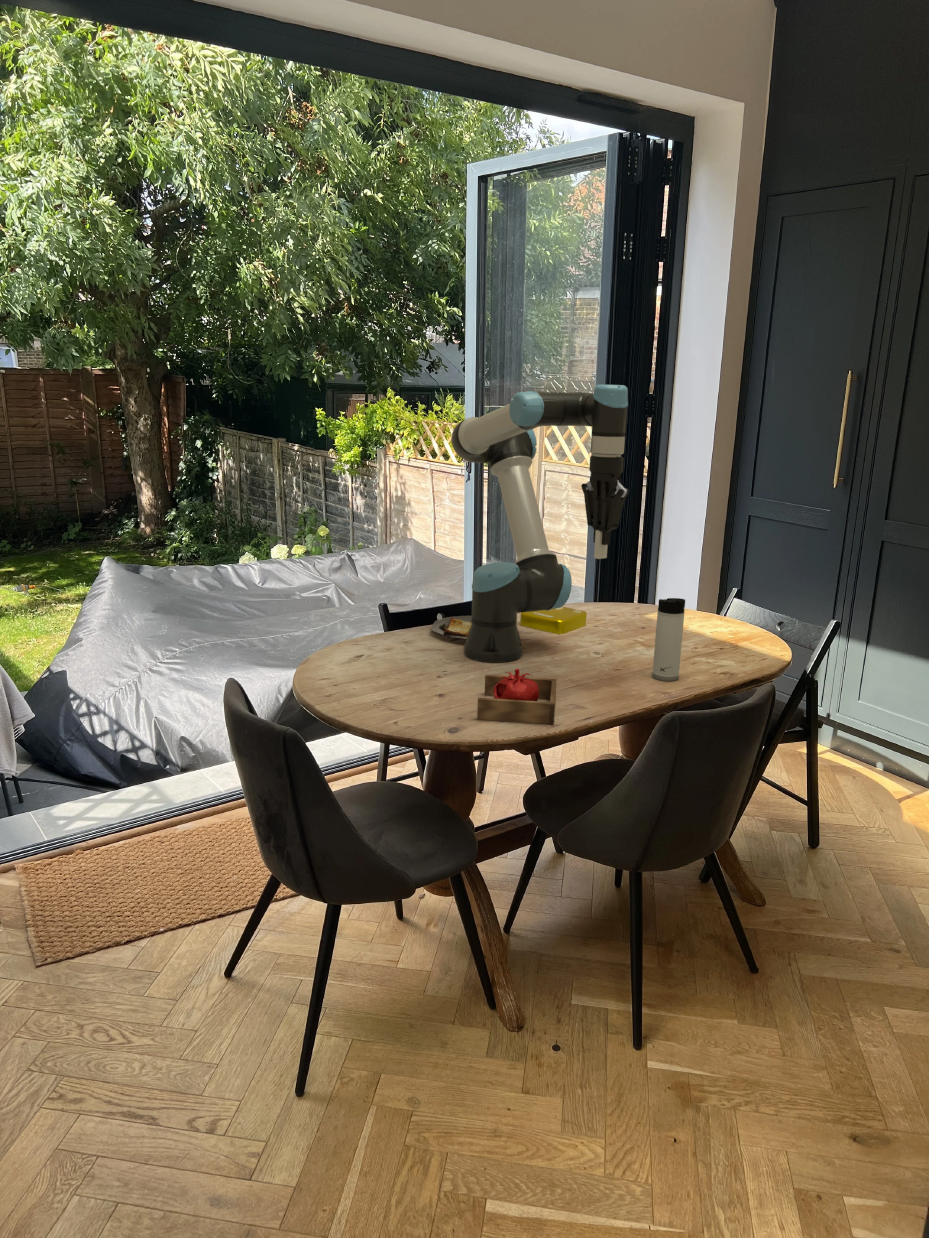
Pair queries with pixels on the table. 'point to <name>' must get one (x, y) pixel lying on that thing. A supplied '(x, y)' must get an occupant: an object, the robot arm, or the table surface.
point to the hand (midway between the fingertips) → (600, 557)
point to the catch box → (518, 704)
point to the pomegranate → (516, 688)
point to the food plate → (453, 627)
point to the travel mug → (668, 639)
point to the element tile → (554, 620)
